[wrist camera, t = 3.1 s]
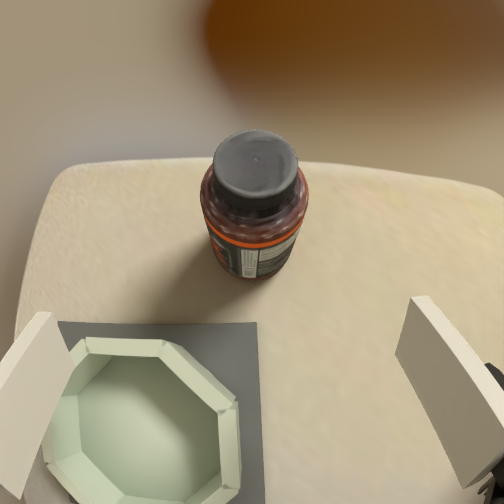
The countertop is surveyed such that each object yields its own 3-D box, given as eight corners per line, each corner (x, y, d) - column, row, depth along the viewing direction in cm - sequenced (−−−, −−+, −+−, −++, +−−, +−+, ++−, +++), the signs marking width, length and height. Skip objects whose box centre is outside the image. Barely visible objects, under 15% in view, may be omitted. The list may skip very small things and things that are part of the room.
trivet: (256, 323, 23) (256, 322, 22) (265, 520, 18) (266, 524, 17) (61, 322, 23) (57, 321, 22) (73, 500, 17) (70, 502, 17)
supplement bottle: (203, 225, 26) (176, 132, 15) (272, 201, 26) (286, 101, 16) (229, 294, 24) (214, 235, 13) (303, 266, 24) (342, 190, 14)
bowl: (236, 344, 22) (232, 338, 17) (244, 509, 17) (244, 539, 13) (71, 340, 22) (37, 332, 17) (82, 491, 17) (53, 510, 13)
